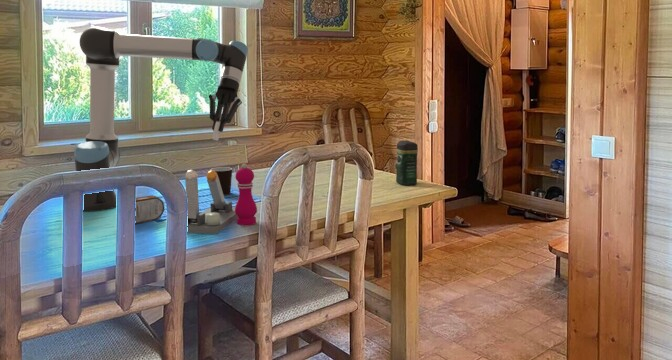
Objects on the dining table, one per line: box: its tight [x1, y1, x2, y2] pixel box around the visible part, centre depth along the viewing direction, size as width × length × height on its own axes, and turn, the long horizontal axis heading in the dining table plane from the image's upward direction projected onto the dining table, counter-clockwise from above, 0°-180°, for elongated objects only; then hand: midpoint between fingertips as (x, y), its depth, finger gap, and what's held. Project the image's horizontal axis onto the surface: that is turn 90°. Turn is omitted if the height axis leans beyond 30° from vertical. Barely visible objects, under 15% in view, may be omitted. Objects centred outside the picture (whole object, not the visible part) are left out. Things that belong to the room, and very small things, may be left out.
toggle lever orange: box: [206, 170, 227, 211], centre depth 203 cm, size 4×4×17 cm
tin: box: [135, 195, 165, 224], centre depth 202 cm, size 15×3×8 cm, turn 133°
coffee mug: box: [209, 166, 233, 196], centre depth 244 cm, size 12×9×10 cm
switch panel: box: [187, 201, 238, 235], centre depth 201 cm, size 12×26×5 cm, turn 170°
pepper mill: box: [235, 163, 258, 226], centre depth 198 cm, size 7×7×20 cm
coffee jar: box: [395, 140, 419, 186], centre depth 259 cm, size 10×8×19 cm
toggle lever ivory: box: [184, 169, 200, 223], centre depth 191 cm, size 4×4×17 cm
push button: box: [206, 213, 220, 225], centre depth 191 cm, size 4×4×3 cm
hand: (214, 139), depth 225 cm, fingers closed
